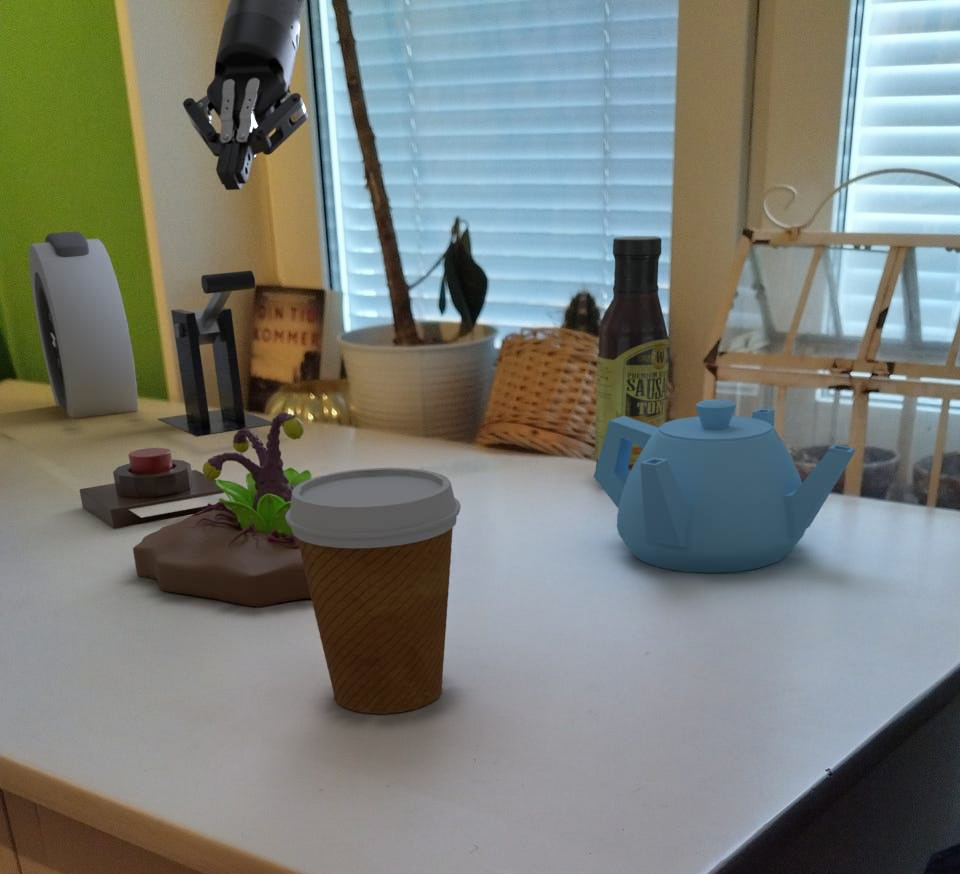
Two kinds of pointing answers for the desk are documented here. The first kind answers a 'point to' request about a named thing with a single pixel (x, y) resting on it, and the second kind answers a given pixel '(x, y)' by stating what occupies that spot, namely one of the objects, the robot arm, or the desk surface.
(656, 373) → the sauce bottle
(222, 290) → the lever
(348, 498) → the disposable coffee cup
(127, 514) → the button block
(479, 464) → the desk surface
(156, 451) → the button
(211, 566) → the plant
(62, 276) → the alarm clock
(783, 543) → the teapot
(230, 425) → the black upright frame
